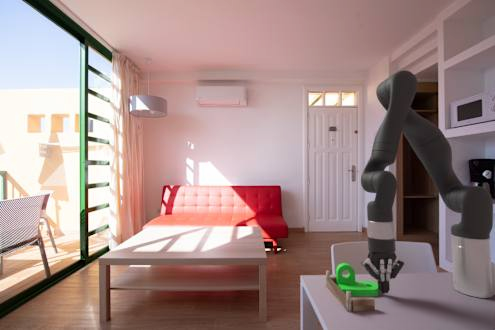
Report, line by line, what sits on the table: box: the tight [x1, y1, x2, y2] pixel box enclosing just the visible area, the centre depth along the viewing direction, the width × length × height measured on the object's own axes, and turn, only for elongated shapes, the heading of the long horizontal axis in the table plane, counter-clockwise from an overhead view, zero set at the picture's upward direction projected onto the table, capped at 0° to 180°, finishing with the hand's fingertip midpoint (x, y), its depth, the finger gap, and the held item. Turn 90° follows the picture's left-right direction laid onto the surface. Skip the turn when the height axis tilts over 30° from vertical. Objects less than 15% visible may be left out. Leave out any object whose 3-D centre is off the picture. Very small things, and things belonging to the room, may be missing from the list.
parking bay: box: [325, 270, 376, 313], centre depth 77 cm, size 8×16×5 cm, turn 4°
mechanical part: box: [335, 262, 380, 297], centre depth 80 cm, size 12×6×8 cm, turn 87°
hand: (383, 292), depth 77 cm, fingers closed
